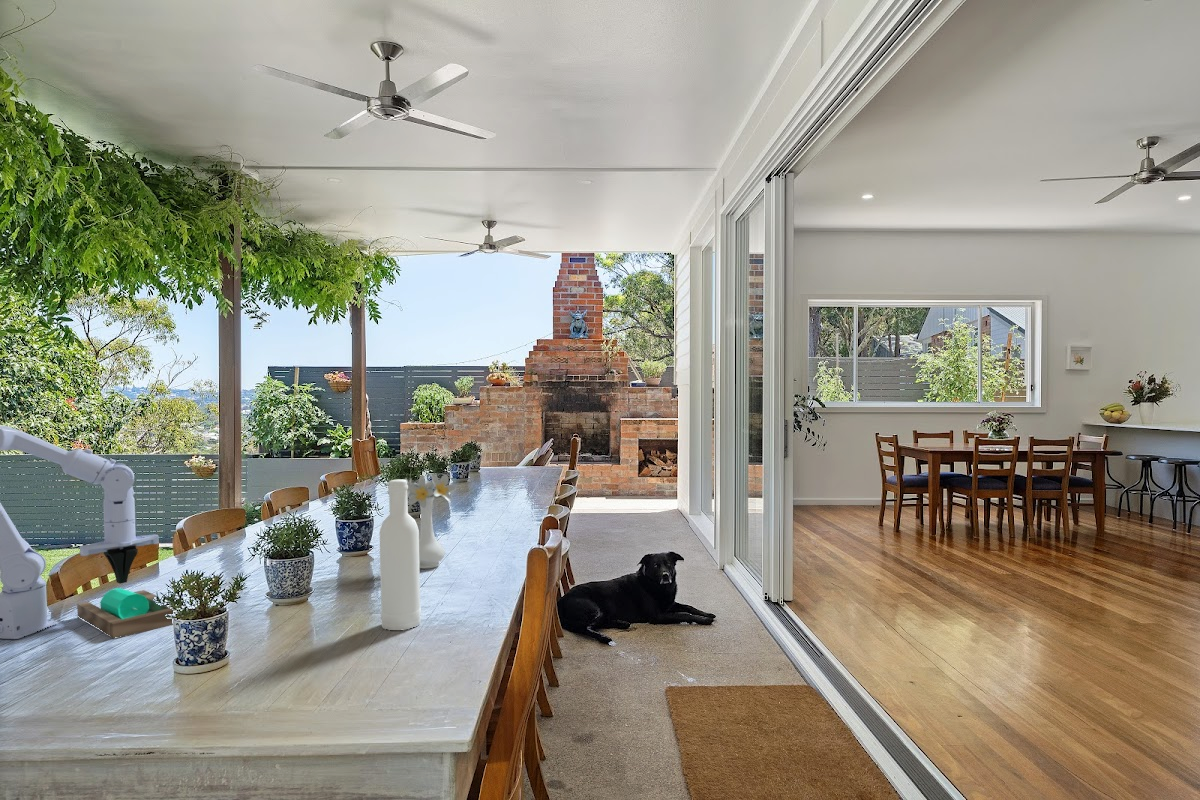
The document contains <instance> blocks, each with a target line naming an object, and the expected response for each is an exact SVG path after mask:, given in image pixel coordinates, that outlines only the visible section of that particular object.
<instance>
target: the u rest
mask: <svg viewBox="0 0 1200 800" xmlns="http://www.w3.org/2000/svg"><path fill="white" fill-rule="evenodd" d="M134 593H137V594H140V595H143V596H145V597H146V599H147V600H148V602H149V610H148V611H147V613H146V614H143V615H138V616H134V617H130V618H125V619H119V618H117V617H115V616H114V615H112V614H110V613H108V612H106V611H104V610H102V609H101V607H99V606H97V605H94V604H93V603H92V602H89V601H85V602H81V603H76V605H77V608H76V609H77V617H78V616H79V617H80V618H82V619H84V620H85V621H87V622H89V623H90V624H92V625H94V626H95V627H97V628H99V629H100V630H102V631H103V632H105V633H106V634H108V635H110V636H111V637H113V638H115V637H120V636H124V637H126V636H125V635H128V636H132V635H135V634H134V633H136V634H140V633H143V632H148V631H152V630H156V629H160V628H164V627H167V626H172V625H173V624H172V619H167V618H166V617H165V615H166V614H173V610H172V609H170V608H168V607H167V606H160V605H158V604H156V603H155V602H154V601H153V598H154V597H156V596H157V595H155V594H154V593H151V592H149V591H147V590H145V589H142V590H137V591H134ZM103 632H102V633H103ZM106 634H105V635H106ZM131 634H132V635H131ZM108 635H107V636H108ZM111 637H110V638H111ZM113 638H112V639H113ZM120 638H121V637H120Z"/></svg>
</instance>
